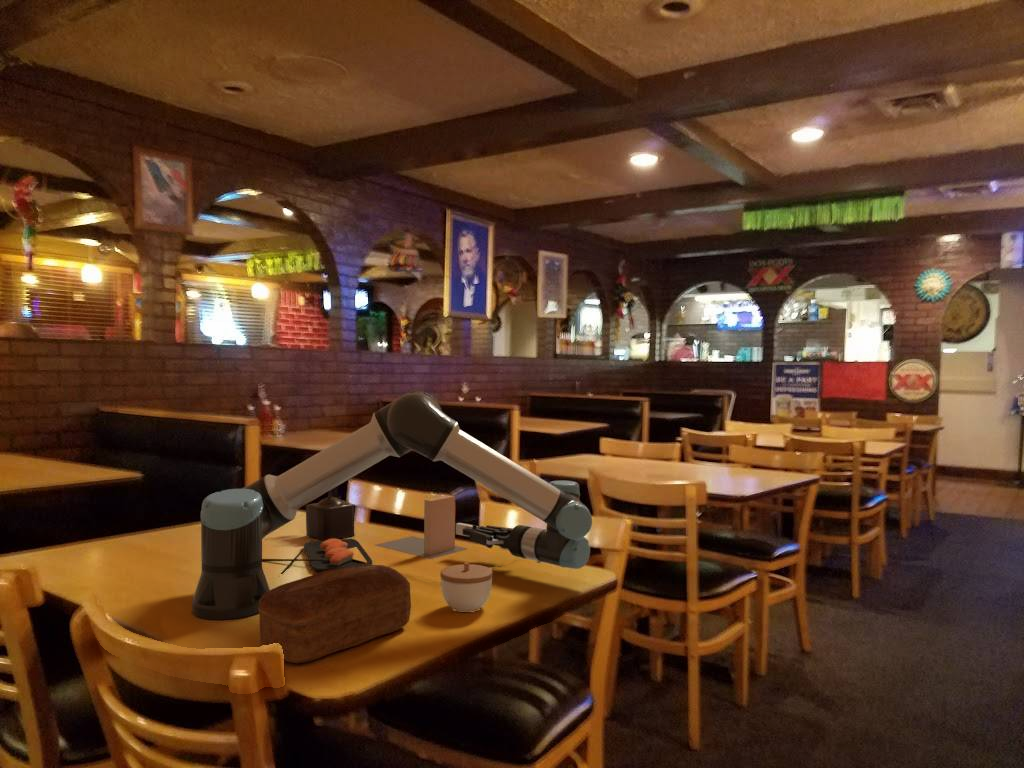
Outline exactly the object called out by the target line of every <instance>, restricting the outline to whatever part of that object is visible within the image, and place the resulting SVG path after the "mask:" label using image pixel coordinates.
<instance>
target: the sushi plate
mask: <svg viewBox="0 0 1024 768" xmlns="http://www.w3.org/2000/svg"><path fill="white" fill-rule="evenodd" d="M353 548H356V549H357V550H358V551H359V553H360V554H361V555H362V556H363V558H364V560H365V561H366V562H365V561H362V560H358V559H355V558H354V555H355V553H354V551H352V550H349V549H353ZM303 551H304V552H305V553H306V556H307V558H308V559H307V558H305V559H304V558H303V559H300V558H298V557H299V556H300V555H301V554H302V553H303ZM262 562H290V563H289V564H287V566H286V567H285V568H284V569H283V570H282V572H280V574H283V573H284V572H285V571H286V570H287V569H288V570H289V569H290V568H291V566H292V564H294V562H309V563H310V565H311V567H312V568H313V569H314V570H315V571H327V570H331V569H338V568H344V567H350V566H361V565H365V564H368V565H373V560H372V558H371V557H370V556H369V554H368V553H367V551H366V550H365V548H363V546H362V545H361V543H360V542H359V541H358V540H356V539H355V538H354V539H353V538H343V539H328V540H325V541H320V540H316V541H308V542H305V543H304V544H303V547H302V549H301V550H300V551H299V552H298V553H297V555H295V557H294V558H262ZM288 570H287V571H288ZM287 571H286V572H287ZM286 572H285V573H286ZM285 573H284V574H285ZM284 574H283V575H284Z"/></svg>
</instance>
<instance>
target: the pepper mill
mask: <svg viewBox="0 0 1024 768" xmlns="http://www.w3.org/2000/svg"><path fill="white" fill-rule="evenodd" d="M332 492H333V491H332V489H331V490H330V491H328V493H327V494H328V496H327V497H325V498H323V499H320V500H319V502H317V503H311V504H310V503H309V504H306V505H305V529H306V530H305V532H306V533H305V534H306V536H307V537H308V538H311V539H313V540H316V541H325V540H328V539H349V538H352V537H355V504H352V503H348V502H347V501H345V500H342V499H341V498H342V496H341V495H339V496H338V497H335V496H333V495H332Z"/></svg>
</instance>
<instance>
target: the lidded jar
mask: <svg viewBox="0 0 1024 768" xmlns="http://www.w3.org/2000/svg"><path fill="white" fill-rule="evenodd" d="M463 563H464V564H463ZM463 563H462V564H453V565H449V566H447V567H444V568H442V569H441V570H440V573H439V574H440V586H441V588H440V589H441V593H442V597H443V599H444V601H445V602H446V604H447V605H448V606H449V607H451V608H450V609H451V610H452V609H454V610H456V611H460V612H471V611H476V610H478V609H480V608H481V609H482V607H483V606H484V605H485V604H486V603H487V602H488V600H489V598H490V597H491V591H492V587H493V585H492V583H493V570H492V568H490V567H489V566H484V565H480V564H472V563H469V562H463ZM481 609H480V610H481Z"/></svg>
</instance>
